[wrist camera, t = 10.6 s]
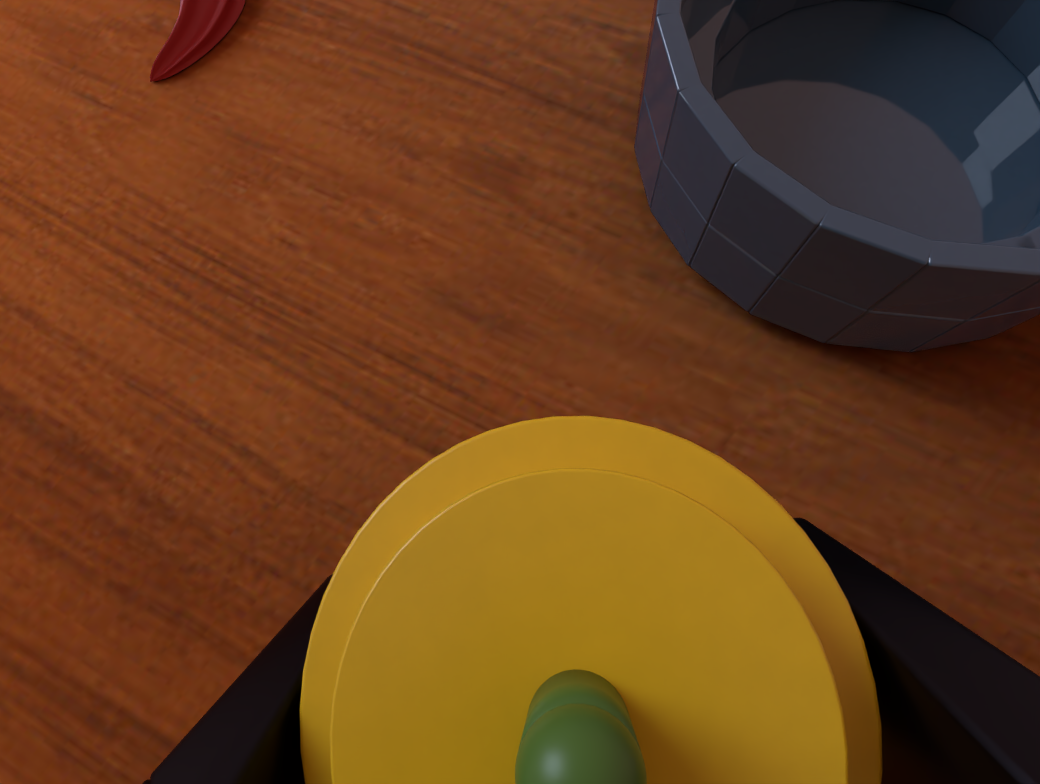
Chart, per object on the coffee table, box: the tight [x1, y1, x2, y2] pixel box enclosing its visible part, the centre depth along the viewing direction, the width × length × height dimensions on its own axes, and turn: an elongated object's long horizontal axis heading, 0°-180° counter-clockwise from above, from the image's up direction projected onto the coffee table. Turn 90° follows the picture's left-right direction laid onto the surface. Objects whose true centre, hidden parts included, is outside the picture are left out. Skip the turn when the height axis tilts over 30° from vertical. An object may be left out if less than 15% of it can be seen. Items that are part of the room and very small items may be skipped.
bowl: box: [634, 0, 1040, 352], centre depth 16 cm, size 14×14×6 cm
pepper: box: [300, 416, 882, 784], centre depth 9 cm, size 7×7×12 cm
